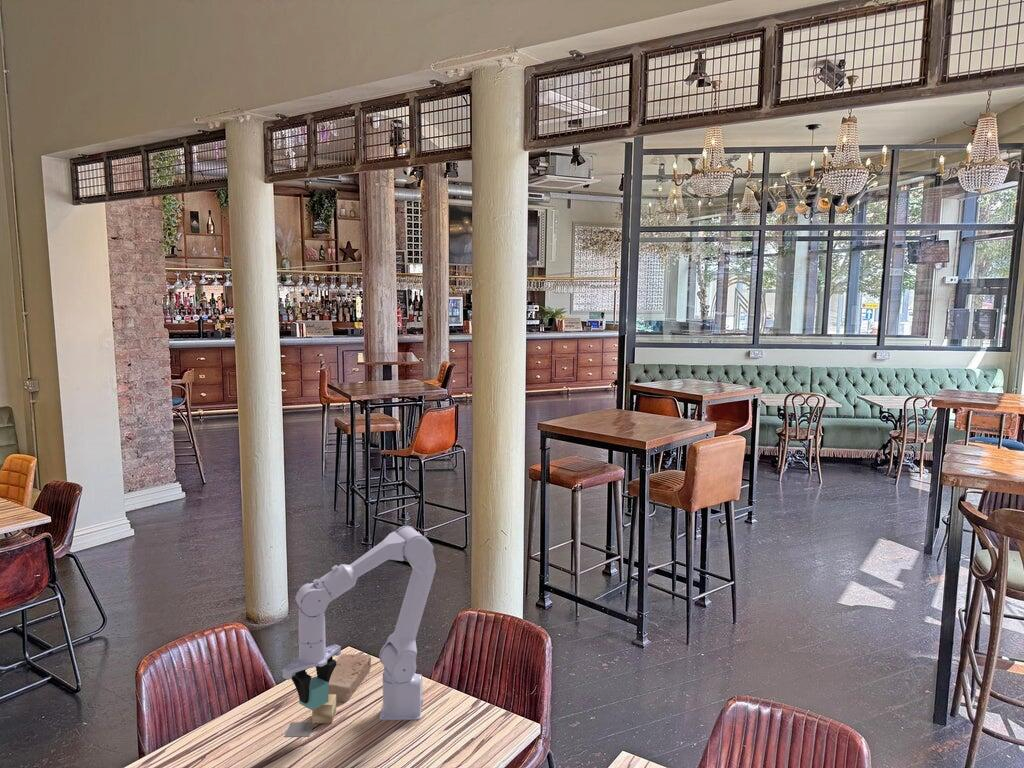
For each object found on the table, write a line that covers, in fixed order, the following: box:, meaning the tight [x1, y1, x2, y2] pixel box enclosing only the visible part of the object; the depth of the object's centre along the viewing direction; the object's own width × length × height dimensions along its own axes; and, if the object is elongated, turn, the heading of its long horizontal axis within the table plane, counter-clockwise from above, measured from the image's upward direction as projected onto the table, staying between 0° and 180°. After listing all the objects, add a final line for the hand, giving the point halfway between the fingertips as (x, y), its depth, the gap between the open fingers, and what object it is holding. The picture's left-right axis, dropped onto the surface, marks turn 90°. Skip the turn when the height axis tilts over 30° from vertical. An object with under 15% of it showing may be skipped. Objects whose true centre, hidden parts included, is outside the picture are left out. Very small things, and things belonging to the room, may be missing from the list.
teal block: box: [298, 675, 329, 711], centre depth 156 cm, size 4×4×4 cm
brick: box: [328, 653, 372, 703], centre depth 179 cm, size 17×8×5 cm, turn 171°
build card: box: [283, 721, 316, 738], centre depth 159 cm, size 14×13×1 cm
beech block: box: [311, 694, 337, 724], centre depth 163 cm, size 4×4×4 cm
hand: (313, 696), depth 156 cm, fingers closed on teal block, 4 cm apart
